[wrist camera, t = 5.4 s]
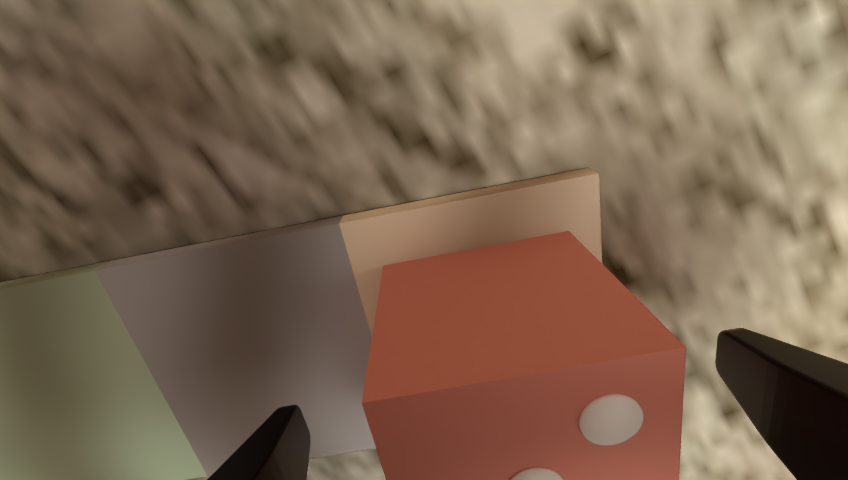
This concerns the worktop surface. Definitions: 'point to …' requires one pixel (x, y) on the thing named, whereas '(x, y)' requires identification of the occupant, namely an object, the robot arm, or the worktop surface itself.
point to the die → (521, 369)
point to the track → (232, 334)
